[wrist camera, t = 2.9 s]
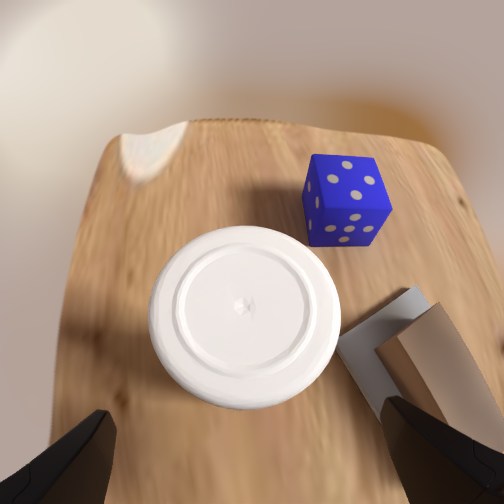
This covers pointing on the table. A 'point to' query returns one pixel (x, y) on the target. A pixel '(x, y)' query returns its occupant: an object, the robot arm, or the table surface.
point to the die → (344, 201)
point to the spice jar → (244, 317)
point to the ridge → (422, 367)
